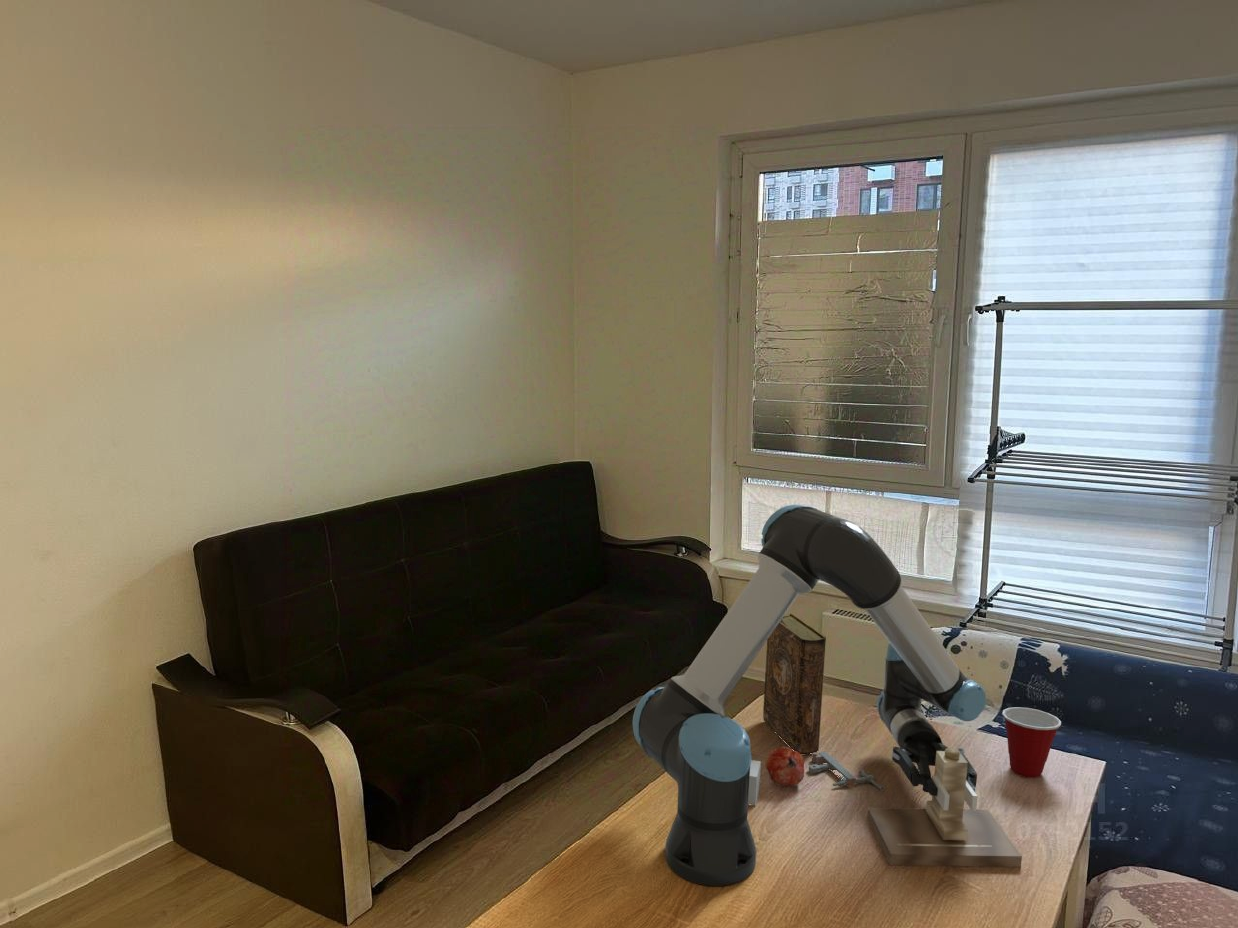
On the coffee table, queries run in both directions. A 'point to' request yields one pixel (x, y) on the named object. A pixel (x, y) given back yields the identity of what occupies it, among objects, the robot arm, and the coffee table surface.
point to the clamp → (839, 770)
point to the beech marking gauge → (954, 780)
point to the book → (795, 683)
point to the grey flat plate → (920, 843)
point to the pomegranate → (785, 766)
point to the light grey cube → (754, 781)
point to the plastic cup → (1029, 739)
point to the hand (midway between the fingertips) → (960, 802)
